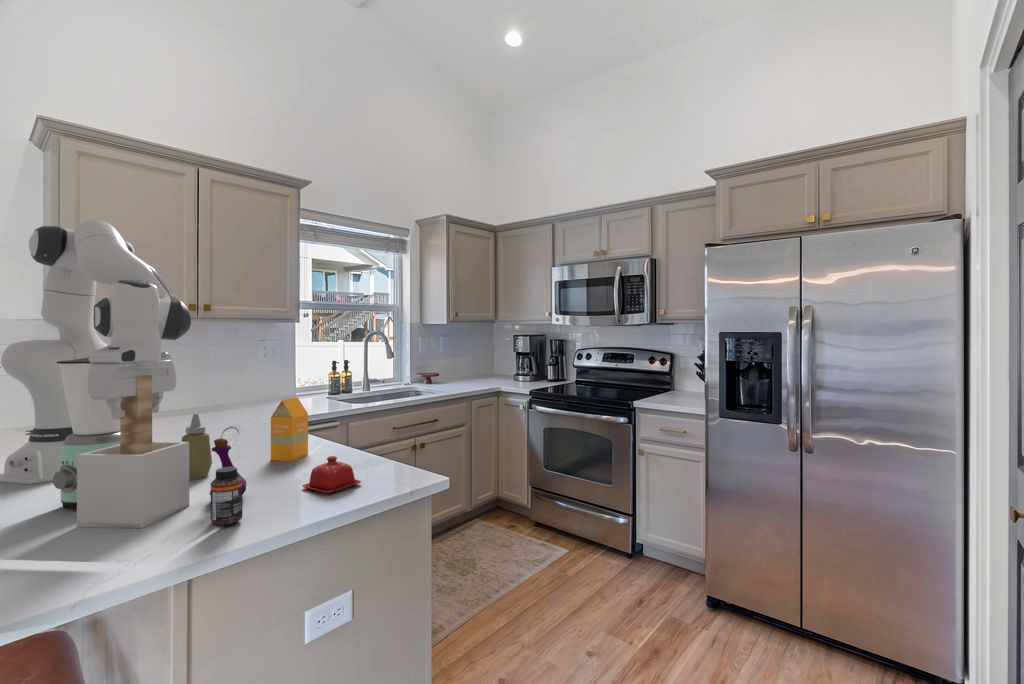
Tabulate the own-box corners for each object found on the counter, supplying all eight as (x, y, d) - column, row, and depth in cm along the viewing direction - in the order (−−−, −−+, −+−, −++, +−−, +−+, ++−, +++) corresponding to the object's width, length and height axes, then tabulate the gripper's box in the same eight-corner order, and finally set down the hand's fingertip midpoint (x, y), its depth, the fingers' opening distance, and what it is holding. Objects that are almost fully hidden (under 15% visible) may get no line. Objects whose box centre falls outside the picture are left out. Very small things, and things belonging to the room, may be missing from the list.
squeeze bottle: (218, 474, 143) (218, 412, 143) (198, 482, 135) (198, 416, 135) (192, 473, 144) (193, 411, 144) (171, 481, 136) (171, 415, 136)
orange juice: (270, 462, 157) (270, 399, 157) (287, 456, 166) (287, 396, 166) (292, 463, 156) (292, 400, 156) (308, 457, 165) (308, 397, 165)
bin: (77, 526, 103) (76, 454, 103) (132, 504, 117) (132, 441, 117) (141, 528, 102) (141, 455, 102) (189, 505, 116) (189, 441, 116)
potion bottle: (209, 507, 115) (209, 430, 115) (211, 498, 121) (211, 425, 121) (246, 503, 118) (246, 427, 118) (246, 494, 125) (246, 423, 125)
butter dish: (299, 490, 129) (299, 457, 129) (336, 479, 139) (336, 449, 139) (326, 497, 123) (326, 463, 123) (363, 486, 133) (363, 454, 133)
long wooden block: (120, 514, 108) (119, 376, 107) (135, 507, 112) (135, 375, 111) (138, 514, 107) (137, 376, 107) (152, 508, 111) (152, 375, 111)
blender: (81, 516, 109) (81, 357, 109) (35, 511, 112) (35, 357, 112) (160, 491, 127) (160, 355, 127) (119, 487, 130) (119, 354, 130)
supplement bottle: (219, 516, 109) (219, 465, 109) (247, 515, 109) (247, 464, 109) (204, 526, 103) (204, 472, 103) (234, 526, 104) (234, 472, 103)
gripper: (158, 352, 120) (158, 408, 120) (80, 354, 99) (80, 423, 100) (183, 352, 120) (183, 409, 120) (110, 354, 99) (110, 423, 99)
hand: (136, 415), depth 109 cm, fingers open, 8 cm apart
